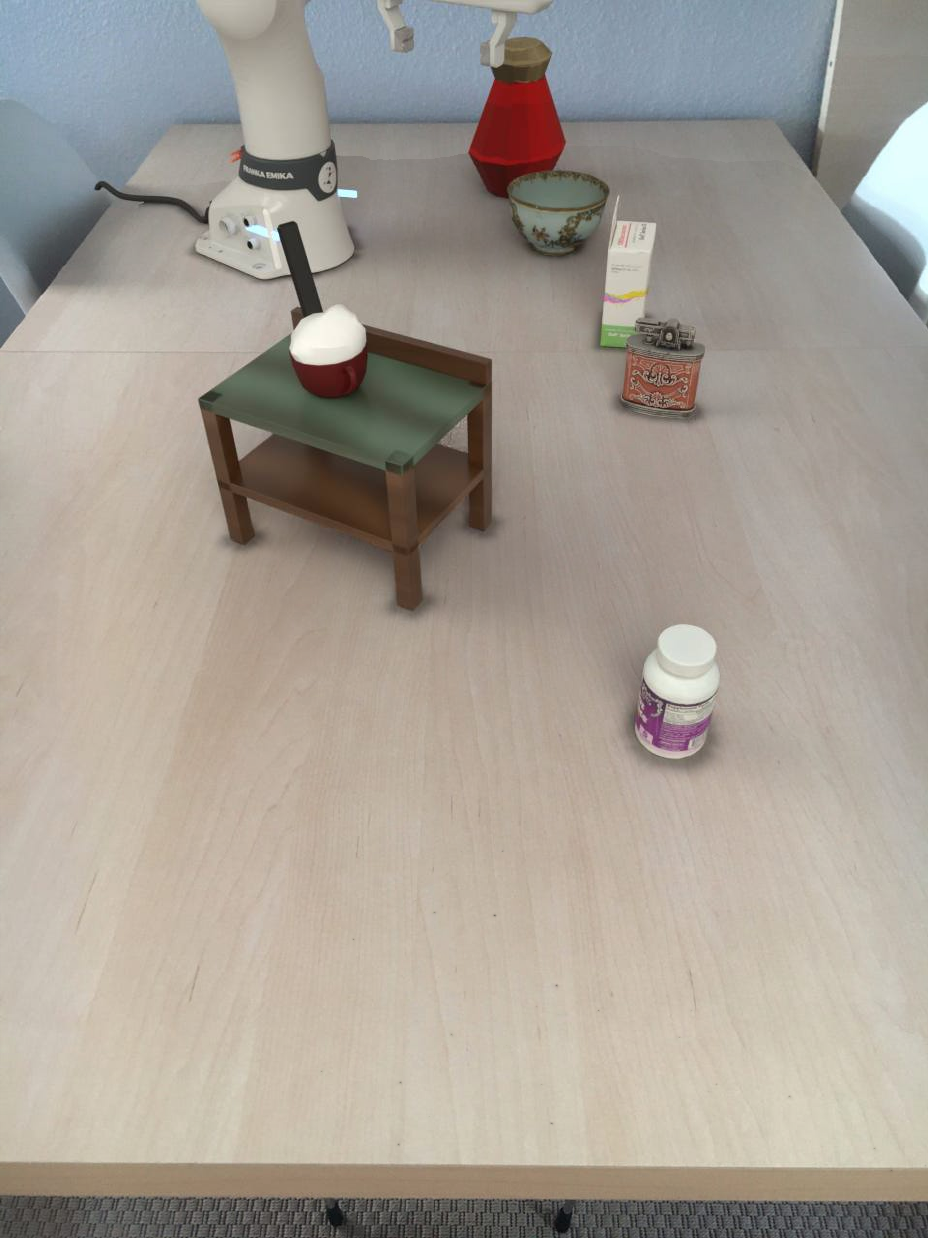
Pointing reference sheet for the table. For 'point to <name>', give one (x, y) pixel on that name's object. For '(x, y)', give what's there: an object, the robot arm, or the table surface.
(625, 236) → the white medicine box
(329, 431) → the green top side table
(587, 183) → the bowl
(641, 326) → the lighter
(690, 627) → the pill bottle
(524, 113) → the bottle
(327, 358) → the cocoa
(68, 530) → the table surface
